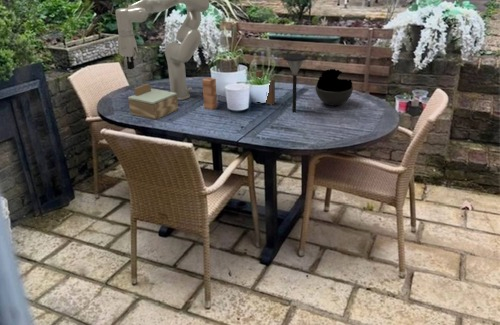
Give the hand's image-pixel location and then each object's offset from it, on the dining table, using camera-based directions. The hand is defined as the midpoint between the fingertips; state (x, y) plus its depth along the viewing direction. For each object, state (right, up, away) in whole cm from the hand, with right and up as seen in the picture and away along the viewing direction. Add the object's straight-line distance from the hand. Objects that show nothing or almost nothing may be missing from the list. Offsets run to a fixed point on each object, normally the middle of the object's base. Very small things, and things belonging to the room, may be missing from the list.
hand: (131, 68), depth 239 cm
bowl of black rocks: (+109, -19, +6) cm, 111 cm away
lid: (+12, -15, -1) cm, 19 cm away
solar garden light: (+87, -24, -3) cm, 90 cm away
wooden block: (+72, -17, +11) cm, 75 cm away
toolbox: (+12, -23, +3) cm, 26 cm away
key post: (+42, -20, +6) cm, 47 cm away
